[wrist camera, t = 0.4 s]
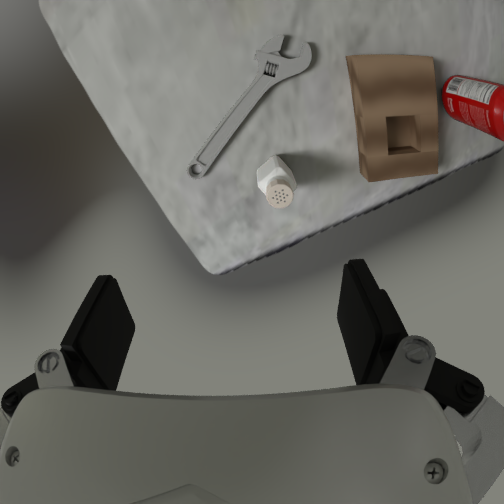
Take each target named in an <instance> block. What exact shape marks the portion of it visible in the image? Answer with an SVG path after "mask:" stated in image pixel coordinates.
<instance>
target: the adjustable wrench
mask: <svg viewBox="0 0 504 504" xmlns="http://www.w3.org/2000/svg"><path fill="white" fill-rule="evenodd" d="M283 39H284V36H283V35H278V36H276V37H273V38H272V39H270V40H269V41H267V42H266V43H265V44H264V46H263V47H262V48H261V49H260V51H256V54H255V57H254V59H255V60H256V59H257V60H258V72H257V75H256V77H255V79H254V81H253V82H252V83H251V85H250V86H249V87H248V88H247V89H246V91H245V92H244V93H243V94H242V95H241V97H240V98H239V99H238V100H237V102H236V103H235V104H234V105H233V107H232V108H231V109H230V110H229V112H228V113H227V114H226V116H225V117H224V118H223V119H222V121H221V122H220V123H219V125H218V126H217V127H216V129H215V130H214V131H213V133H212V134H211V135H210V137H209V138H208V139H207V141H206V142H205V143H204V145H203V146H202V147H201V149H200V150H199V152H198V153H197V154H196V156H195V157H194V159H193V160H192V161H191V163H190V164H189V166H188V168H187V173H188V175H189V176H190V177H191V178H193V179H200V178H202V176H203V175H204V174H205V172H206V171H207V170H208V168H209V167H210V165H211V164H212V162H213V161H214V160H215V158H216V157H217V155H218V154H219V153H220V151H221V150H222V148H223V147H224V146H225V144H226V143H227V141H228V140H229V139H230V137H231V136H232V135H233V133H234V132H235V131H236V129H237V128H238V127H239V125H240V124H241V123H242V121H243V120H244V119H245V117H246V116H247V115H248V113H249V112H250V111H251V109H252V108H253V107H254V106H255V104H256V103H257V102H258V100H259V99H260V98H261V97H262V95H263V94H264V93H265V92H266V91H267V90H268V89H269V88H270V87H271V86H272V85H274V84H276V83H278V82H279V81H281V80H283V79H285V78H288V77H290V76H293V75H296V74H298V73H301V72H302V71H304V70H305V69H306V68H307V67H308V66H309V64H310V62H311V57H312V54H311V48H310V46H309V44H308V43H306V42H304V43H303V46H302V50H301V53H300V56H299V57H298V58H293V59H287V58H284V57H282V56H281V55H280V54H279V53H278V51H280V49H281V45H282V42H283ZM269 63H270V64H269ZM272 64H273V65H272ZM275 65H276V66H275ZM264 71H266V74H267V73H268V72H269V75H270V73H272V75H273V74H275V77H271V76H267V75H263V74H264ZM194 164H198V165H200V166H201V167H202V172H201V173H200V174H198V175H196V174H193V173H192V171H191V167H192V166H193V165H194Z"/></svg>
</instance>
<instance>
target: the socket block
mask: <svg viewBox="0 0 504 504" xmlns="http://www.w3.org/2000/svg"><path fill="white" fill-rule="evenodd" d="M346 60H347V66H348V72H349V78H350V84H351V91H352V98H353V105H354V113H355V121H356V130H357V140H358V151H359V164H360V173H361V174H362V175H363V176H364V177H365V178H366V180H367V181H368V182H375V181H382V180H389V179H397V178H405V177H413V176H421V175H429V174H438V108H437V93H436V81H435V72H434V63H433V57H429V56H414V55H351V56H346Z"/></svg>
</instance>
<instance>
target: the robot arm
mask: <svg viewBox="0 0 504 504" xmlns="http://www.w3.org/2000/svg"><path fill="white" fill-rule="evenodd" d="M337 319H338V323H339V327H340V330H341V333H342V336H343V340H344V343H345V347H346V350H347V353H348V357H349V360H350V364H351V367H352V371H353V374H354V378H355V382H356V386H347V387H339V388H330V389H321V390H312V391H301V392H290V393H278V394H262V395H238V396H237V395H236V396H186V395H160V394H145V393H132V392H121V391H116V389H117V385H118V382H119V379H120V375H121V372H122V369H123V366H124V363H125V359H126V356H127V353H128V350H129V347H130V344H131V341H132V338H133V335H134V332H135V323H134V321H133V319H132V316H131V314H130V312H129V310H128V307H127V305H126V302H125V300H124V297H123V295H122V292H121V290H120V287H119V285H118V282H117V280H116V279H115V278H113V277H112V276H111V275H99V276H98V277H97V278H96V280H95V282H94V283H93V285H92V287H91V288H90V290H89V292H88V294H87V295H86V297H85V299H84V301H83V302H82V304H81V306H80V308H79V310H78V312H77V313H76V315H75V317H74V319H73V321H72V323H71V325H70V327H69V329H68V330H67V332H66V334H65V336H64V338H63V340H62V342H61V344H60V345H61V347H62V348H61V350H60V351H59V350H57V349H49V350H47V351H45V352H43V353H42V354H41V355H40V356H39V357H38V358H37V360H36V363H35V373H33V374H32V375H30V376H29V377H27V378H26V379H24V380H22V381H20V382H19V383H17V384H15V385H14V386H12V387H11V388H9V389H8V390H7V391H6V392H5V393H4V395H3V397H2V401H1V406H2V407H1V408H0V504H478V503H479V502H480V500H481V499H482V498H483V497H484V495H485V494H486V493H487V491H488V490H489V489H490V487H491V486H492V485H493V483H494V482H495V480H496V479H497V477H498V476H499V475H500V473H501V472H502V470H503V469H504V407H503V406H502V405H501V404H500V403H498V402H497V401H496V400H495V399H494V398H493V397H492V396H489V397H487V396H486V395H484V387H483V384H482V382H481V381H480V380H479V379H478V378H477V377H475V376H474V375H472V374H470V373H467V372H465V371H463V370H461V369H459V368H457V367H455V366H452V365H450V364H448V363H446V362H444V361H442V360H440V359H438V358H436V357H435V356H436V352H435V348H434V346H433V344H432V343H431V342H430V341H429V340H427V339H425V338H424V337H421V336H416V335H414V336H413V335H411V336H408V334H407V332H406V330H405V327H404V325H403V323H402V321H401V319H400V317H399V315H398V313H397V311H396V309H395V308H394V306H393V304H392V302H391V300H390V298H389V296H388V294H387V292H386V291H385V290H384V289H379V287H378V285H377V283H376V281H375V279H374V277H373V276H372V274H371V272H370V270H369V268H368V266H367V264H366V263H365V261H364V259H354V260H349V262H348V264H345V265H344V269H343V277H342V284H341V291H340V299H339V305H338V312H337ZM454 435H455V436H454ZM456 440H457V441H458V442H459V443H460V445H461V446H462V450H463V455H462V457H461V454H460V451H459V448H458V445H457V442H456Z"/></svg>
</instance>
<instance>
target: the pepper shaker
mask: <svg viewBox="0 0 504 504" xmlns="http://www.w3.org/2000/svg"><path fill="white" fill-rule="evenodd" d="M257 184H258V187H259V188H260V190H261V191H262V192H263V193H264V194H265V195H266V196H267V200H268V202H269V204H270V205H271V206H273V207H275V208H284V207H286V206H289V205H290V203H291V202H292V201H293V192H294V191H295V190H296V188H297V183H296V181H295V178H294V176H293V173H292V171H291V169H290V168H289V167H288V166H287V165H286V164H285V163H284V162H283V161H282V159H281V158H280V157H279V156H277V155H274V156H272V157H271V158H270V159H269V160H267V161H266V162H265V163H264V164H263V165H262V166H260V167H259V168H258V169H257Z"/></svg>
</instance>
